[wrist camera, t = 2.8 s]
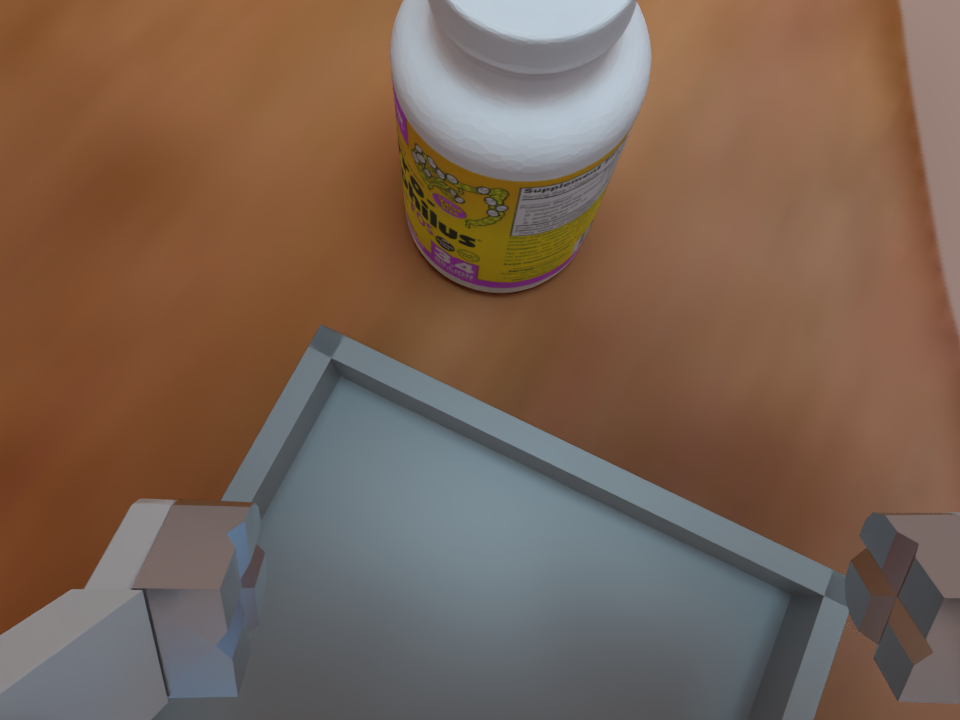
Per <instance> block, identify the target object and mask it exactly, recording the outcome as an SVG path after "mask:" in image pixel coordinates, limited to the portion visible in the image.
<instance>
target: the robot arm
mask: <svg viewBox="0 0 960 720" xmlns="http://www.w3.org/2000/svg"><path fill="white" fill-rule="evenodd" d="M261 528H262V524H261V518H260V512H259V507H258V506H257V504H256V503H255V502H234V501H208V500H182V499H179V500H167V499H139V500H138V501H136V502H135V503H133V504H132V505H131V506H130V508H129V510H128V511H127V513H126V515H125V517H124V518H123V520H122V522H121V524H120V526H119V527H118V529H117V531H116V533H115V534H114V536H113V538H112V540H111V541H110V543H109V545H108V547H107V549H106V550H105V552H104V554H103V556H102V557H101V559H100V561H99V563H98V564H97V566H96V568H95V570H94V571H93V573H92V575H91V577H90V579H89V580H88V582H87V584H86V586H85V587H84V589H71V590H70V591H68V592H66V593H65V594H63V595H62V596H60V597H59V598H57V599H56V600H54V601H53V602H51V603H49V604H48V605H46V606H45V607H43V608H42V609H40V610H39V611H37V612H36V613H34V614H32V615H31V616H29V617H28V618H26V619H25V620H23V621H22V622H20V623H18V624H17V625H15V626H14V627H12V628H11V629H9V630H8V631H6V632H5V633H3V634H1V635H0V720H151V719H152V718H153V717H154V716H155V715H156V714H157V713H158V712H159V711H160V710H161V709H162V708H163V707H164V706H165V705H166V704H167V703H168V698H202V697H238V696H239V692H240V689H241V685H242V682H243V678H244V675H245V672H246V668H247V665H248V661H249V658H250V655H251V648H250V641H249V634H248V633H250V632H251V631H252V630H253V629H254V628H255V627H257V626H258V625H259V623H260V619H261V615H262V612H263V608H264V602H265V594H266V587H267V564H266V555H265V552H264V551H263V550H262V549H261V548H260V547H259V546H258V545H257V544H256V543H257V540H258V537H259V534H260V531H261ZM860 537H861V539H862V541H863V543H864V545H865V546H866V549H864V550H863V551H862V552H861V553H859V554H858V555H857V556H856V557H854V558H853V559H852V560H851V561H850V564H849V567H848V571H847V574H846V577H845V598H846V603H847V606H848V610H849V613H850V616H851V618H852V620H853V621H854V623H855V625H856V627H857V629H858V631H859V632H861V633H862V634H864V635H865V636H866V637H868V638H869V639H871V640H872V641H873V642H875V643H876V644H877V649H876V652H875V656H874V660H875V662H876V663H877V665H878V667H879V669H880V670H881V672H882V674H883V676H884V678H885V679H886V681H887V683H888V685H889V686H890V688H891V690H892V692H893V693H894V695H895V697H896V699H897V701H898V702H922V703H950V704H960V512H948V513H946V514H945V513H875V512H873V513H872V514H871V515H870V516H869V517H868V518H867V519H866V520H865V522H864V525H863V528H862V530H861V533H860Z"/></svg>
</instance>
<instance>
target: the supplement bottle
mask: <svg viewBox="0 0 960 720" xmlns="http://www.w3.org/2000/svg"><path fill="white" fill-rule="evenodd" d="M390 59H391V73H392V82H393V90H394V100H395V111H396V121H397V132H398V144H399V153H400V164H401V173H402V185H403V196H404V204H405V211H406V217H407V222H408V226H409V229H410V232H411V235H412V237H413V240H414V242H415V244H416V245H417V247H418V249H419V250H420V252H421V253H422V254H423V256H424V257H425V258H426V259H427V260H428V262H429V263H430V264H431V265H432V266H433V267H434V268H435V269H437V270H438V271H439V272H440V273H441V274H443V275H444V276H446V277H447V278H449V279H450V280H452V281H454V282H456V283H458V284H460V285H463V286H465V287H468V288H471V289H474V290H478V291H483V292H491V293H509V292H517V291H522V290H526V289H529V288H533V287H535V286H537V285H539V284H541V283H543V282H545V281H547V280H549V279H550V278H552V277H553V276H555V275H556V274H558V273H559V272H560V271H561V270H563V269H564V268H565V267H566V266H567V265H568V264H569V262H570V261H571V260H572V259H573V258H574V256H575V255H576V254H577V252H578V250H579V249H580V247H581V245H582V243H583V242H584V240H585V238H586V236H587V233H588V231H589V229H590V227H591V224H592V222H593V219H594V217H595V214H596V212H597V210H598V207H599V205H600V203H601V200H602V198H603V195H604V193H605V190H606V188H607V186H608V183H609V181H610V179H611V176H612V174H613V171H614V169H615V167H616V164H617V162H618V159H619V157H620V154H621V152H622V150H623V147H624V145H625V143H626V140H627V138H628V136H629V134H630V131H631V129H632V126H633V124H634V122H635V120H636V118H637V115H638V113H639V110H640V107H641V105H642V102H643V100H644V97H645V94H646V91H647V87H648V83H649V76H650V67H651V47H650V39H649V34H648V29H647V26H646V22H645V19H644V16H643V14H642V12H641V9H640V7H639V5H638V3H637V0H403V2H402V4H401V6H400V9H399V11H398V14H397V17H396V19H395V22H394V27H393V31H392V37H391V48H390Z"/></svg>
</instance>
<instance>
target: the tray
mask: <svg viewBox="0 0 960 720" xmlns="http://www.w3.org/2000/svg"><path fill="white" fill-rule="evenodd" d="M221 501H234V502H255V503H256V504H257V506H258V507H259V512H260V518H261V524H262V528H261V531H260V534H259V537H258V540H257V543H256V544H257V545H258V546H259V547H260V548H261V549H262V550H263V551H264V552H265V555H266V564H267V587H266V594H265V602H264V608H263V612H262V615H261V619H260V623H259V625H258V626H257V627H255V628H254V629H253V630H252V631H251V632H250V633H248V634H249V641H250V648H251V655H250V658H249V661H248V665H247V668H246V672H245V675H244V678H243V682H242V685H241V689H240V692H239V696H238V697H202V698H168V703H167V704H166V705H165V706H164V707H163V708H162V709H161V710H160V711H159V712H158V713H157V714H156V715H155V716H154V717H153V718H152V719H151V720H813V719H814V716H815V713H816V710H817V707H818V704H819V701H820V698H821V695H822V692H823V689H824V686H825V683H826V680H827V677H828V674H829V671H830V668H831V665H832V662H833V659H834V656H835V653H836V650H837V647H838V644H839V641H840V638H841V635H842V632H843V629H844V626H845V623H846V620H847V617H848V613H849V610H848V606H847V603H846V598H845V577H846V576H844V575H842V574H840V573H838V572H836V571H834V570H832V569H830V568H828V567H826V566H823V565H821V564H819V563H817V562H815V561H813V560H811V559H809V558H807V557H805V556H803V555H801V554H798V553H796V552H794V551H792V550H790V549H788V548H786V547H784V546H782V545H780V544H778V543H776V542H773V541H771V540H769V539H767V538H765V537H763V536H761V535H759V534H757V533H755V532H753V531H751V530H748V529H746V528H744V527H742V526H740V525H738V524H736V523H734V522H732V521H730V520H728V519H726V518H723V517H721V516H719V515H717V514H715V513H713V512H711V511H709V510H707V509H705V508H703V507H701V506H698V505H696V504H694V503H692V502H690V501H688V500H686V499H684V498H682V497H680V496H678V495H676V494H673V493H671V492H669V491H667V490H665V489H663V488H661V487H659V486H657V485H655V484H653V483H651V482H648V481H646V480H644V479H642V478H640V477H638V476H636V475H634V474H632V473H630V472H628V471H625V470H623V469H621V468H619V467H617V466H615V465H613V464H611V463H609V462H607V461H605V460H603V459H600V458H598V457H596V456H594V455H592V454H590V453H588V452H586V451H584V450H582V449H580V448H578V447H575V446H573V445H571V444H569V443H567V442H565V441H563V440H561V439H559V438H557V437H555V436H553V435H550V434H548V433H546V432H544V431H542V430H540V429H538V428H536V427H534V426H532V425H530V424H528V423H525V422H523V421H521V420H519V419H517V418H515V417H513V416H511V415H509V414H507V413H505V412H503V411H500V410H498V409H496V408H494V407H492V406H490V405H488V404H486V403H484V402H482V401H480V400H478V399H475V398H473V397H471V396H469V395H467V394H465V393H463V392H461V391H459V390H457V389H455V388H452V387H450V386H448V385H446V384H444V383H442V382H440V381H438V380H436V379H434V378H432V377H430V376H427V375H425V374H423V373H421V372H419V371H417V370H415V369H413V368H411V367H409V366H407V365H405V364H402V363H400V362H398V361H396V360H394V359H392V358H390V357H388V356H386V355H384V354H382V353H380V352H377V351H375V350H373V349H371V348H369V347H367V346H365V345H363V344H361V343H359V342H357V341H355V340H352V339H350V338H348V337H346V336H344V335H342V334H340V333H338V332H336V331H334V330H332V329H330V328H327V327H325V326H323V325H320V327H319V329H318V331H317V332H316V334H315V336H314V338H313V339H312V341H311V343H310V345H309V346H308V348H307V350H306V352H305V354H304V355H303V357H302V359H301V361H300V362H299V364H298V366H297V368H296V369H295V371H294V373H293V375H292V376H291V378H290V380H289V382H288V383H287V385H286V387H285V389H284V390H283V392H282V394H281V396H280V397H279V399H278V401H277V403H276V404H275V406H274V408H273V410H272V411H271V413H270V415H269V417H268V418H267V420H266V422H265V424H264V425H263V427H262V429H261V431H260V432H259V434H258V436H257V438H256V439H255V441H254V443H253V445H252V446H251V448H250V450H249V452H248V453H247V455H246V457H245V459H244V460H243V462H242V464H241V466H240V468H239V469H238V471H237V473H236V475H235V476H234V478H233V480H232V482H231V483H230V485H229V487H228V489H227V490H226V492H225V494H224V496H223V497H222V499H221Z"/></svg>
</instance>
